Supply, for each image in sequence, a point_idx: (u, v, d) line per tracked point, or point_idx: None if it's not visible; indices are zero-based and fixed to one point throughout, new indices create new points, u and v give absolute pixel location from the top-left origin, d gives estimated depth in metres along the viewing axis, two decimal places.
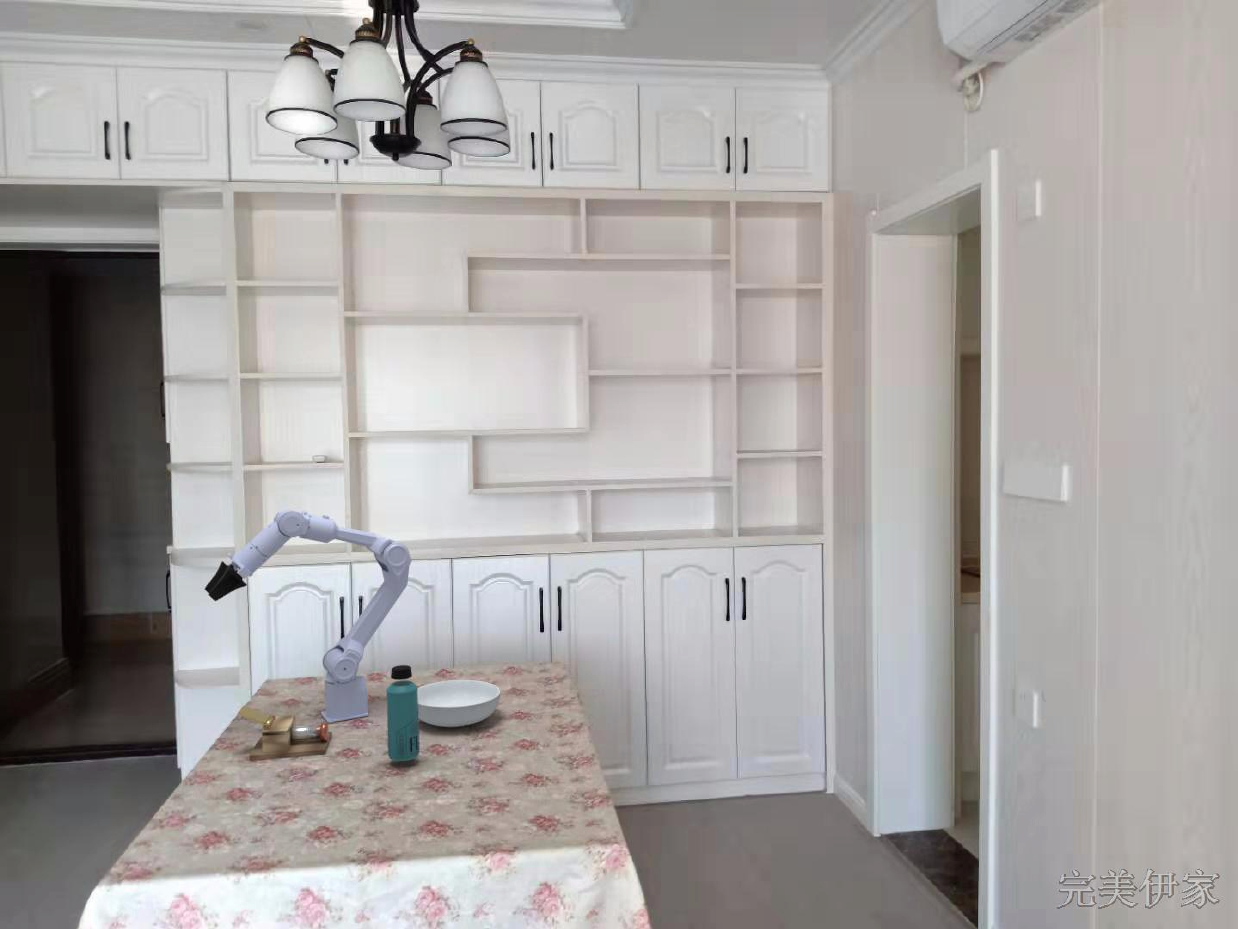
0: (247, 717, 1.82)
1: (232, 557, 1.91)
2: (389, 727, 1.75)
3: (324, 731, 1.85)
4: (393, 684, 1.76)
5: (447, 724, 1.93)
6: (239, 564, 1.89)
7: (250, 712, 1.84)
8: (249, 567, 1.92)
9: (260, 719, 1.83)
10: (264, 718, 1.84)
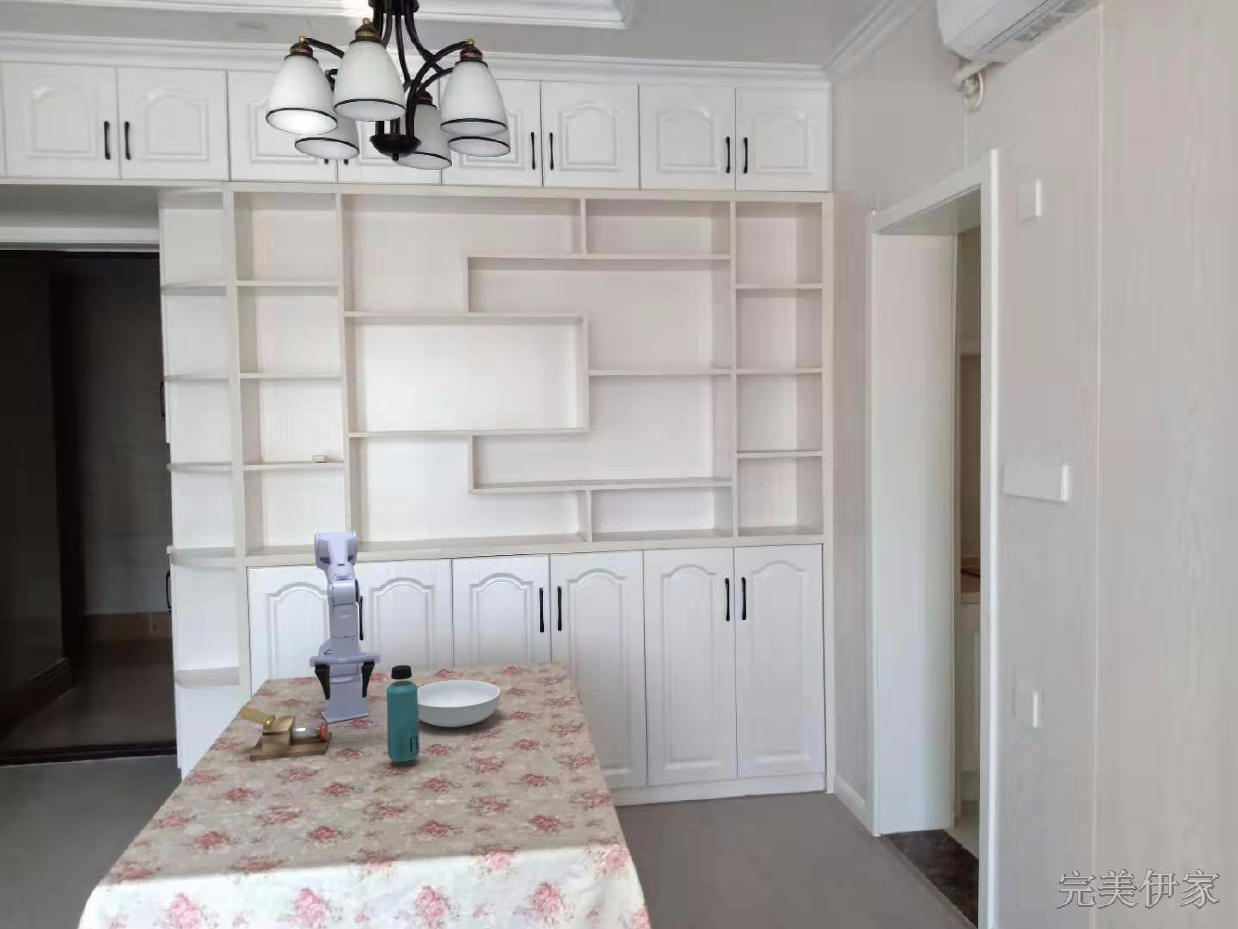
0: (247, 717, 1.82)
1: (348, 660, 1.84)
2: (389, 727, 1.75)
3: (324, 731, 1.85)
4: (393, 684, 1.76)
5: (447, 724, 1.93)
6: (366, 657, 1.86)
7: (250, 712, 1.84)
8: None
9: (260, 719, 1.83)
10: (264, 718, 1.84)
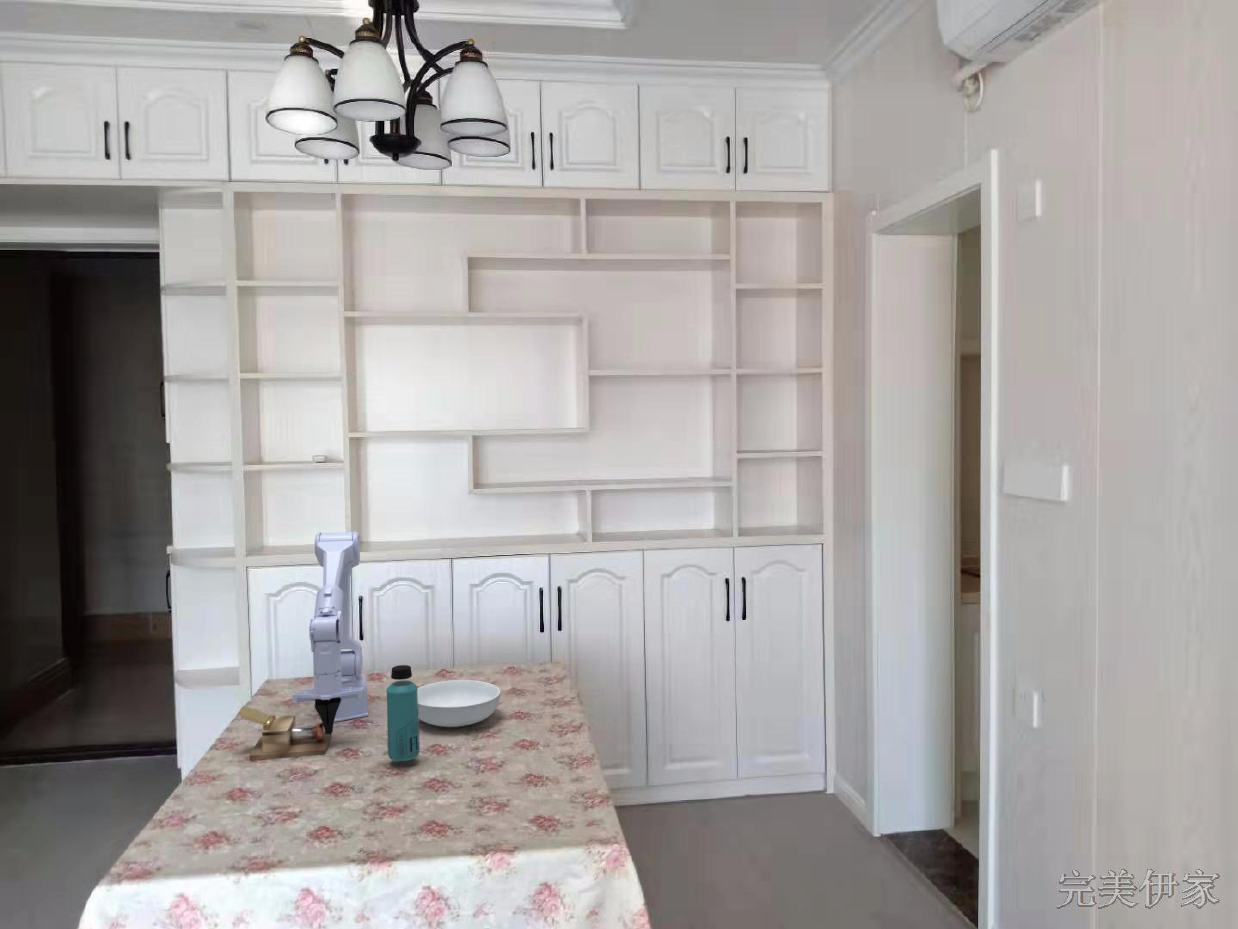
0: (247, 717, 1.82)
1: (331, 696, 1.84)
2: (389, 727, 1.75)
3: (320, 731, 1.85)
4: (393, 684, 1.76)
5: (447, 724, 1.93)
6: (349, 693, 1.86)
7: (250, 712, 1.84)
8: None
9: (260, 719, 1.83)
10: (264, 718, 1.84)
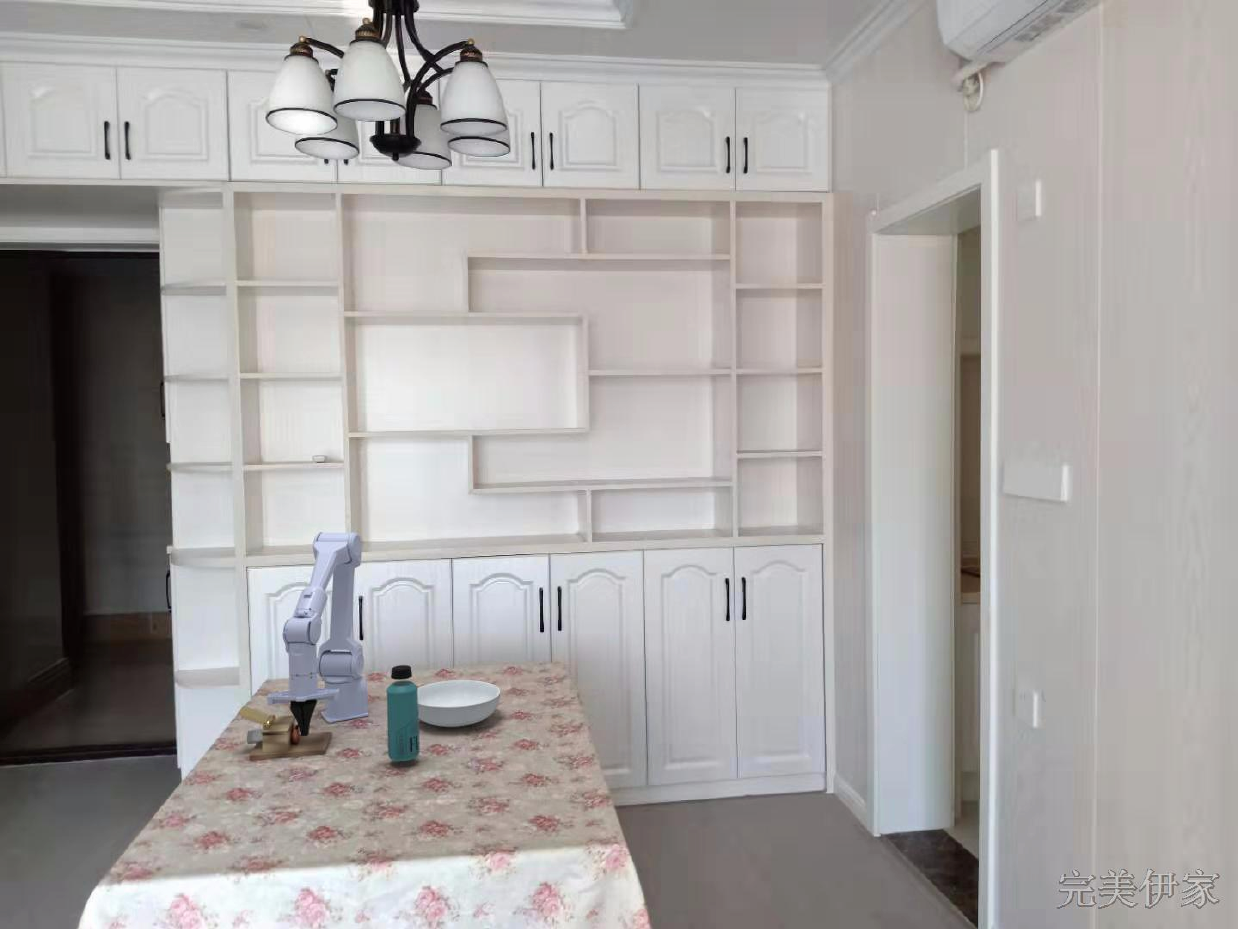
0: (247, 717, 1.82)
1: (307, 698, 1.83)
2: (389, 727, 1.75)
3: (295, 733, 1.84)
4: (393, 684, 1.76)
5: (447, 724, 1.93)
6: (325, 695, 1.85)
7: (250, 712, 1.84)
8: (317, 688, 1.87)
9: (260, 719, 1.83)
10: (264, 718, 1.84)
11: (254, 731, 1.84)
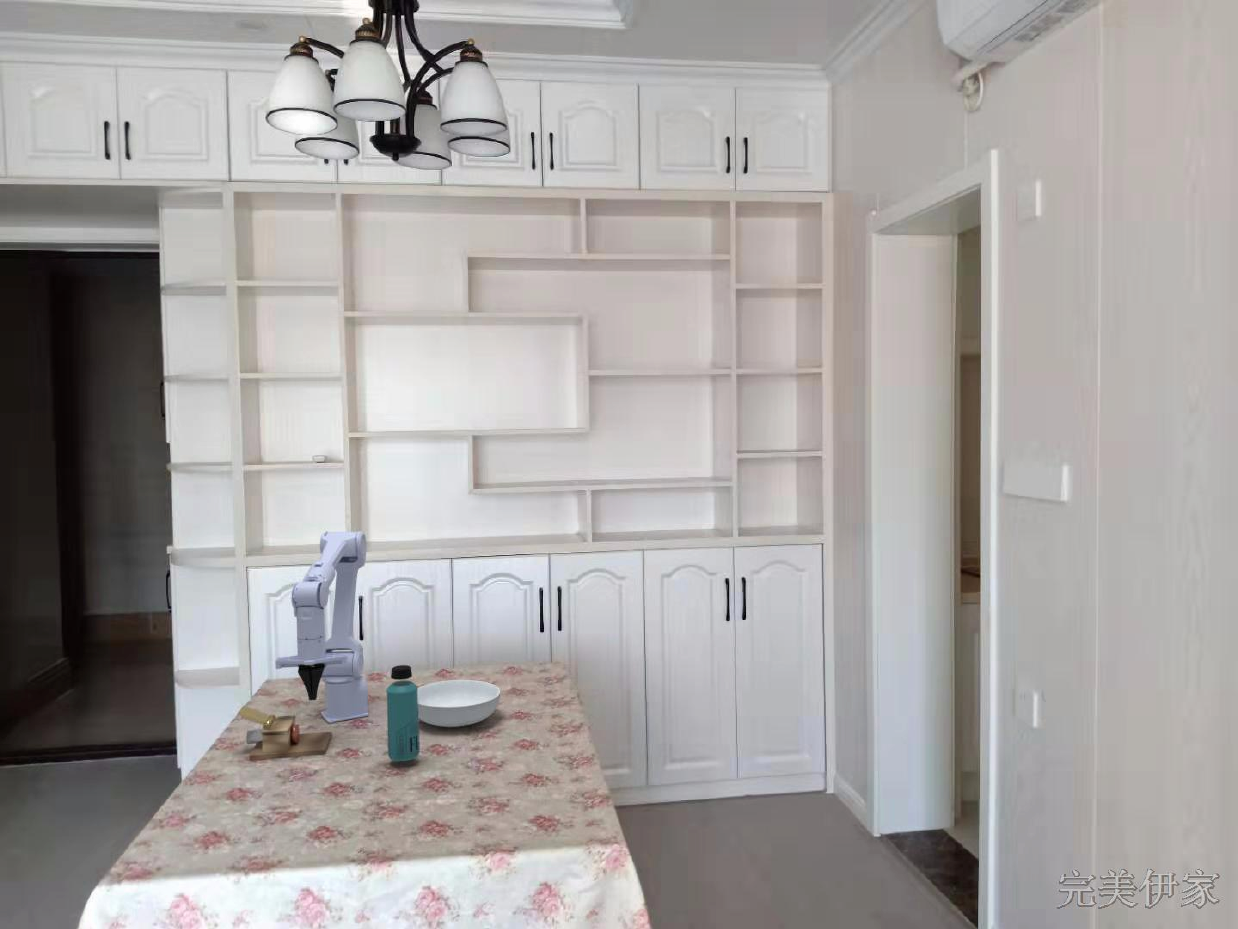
0: (247, 717, 1.82)
1: (315, 661, 1.83)
2: (389, 727, 1.75)
3: (295, 733, 1.84)
4: (393, 684, 1.76)
5: (447, 724, 1.93)
6: (333, 659, 1.85)
7: (250, 712, 1.84)
8: (325, 652, 1.87)
9: (260, 719, 1.83)
10: (264, 718, 1.84)
11: (253, 731, 1.84)
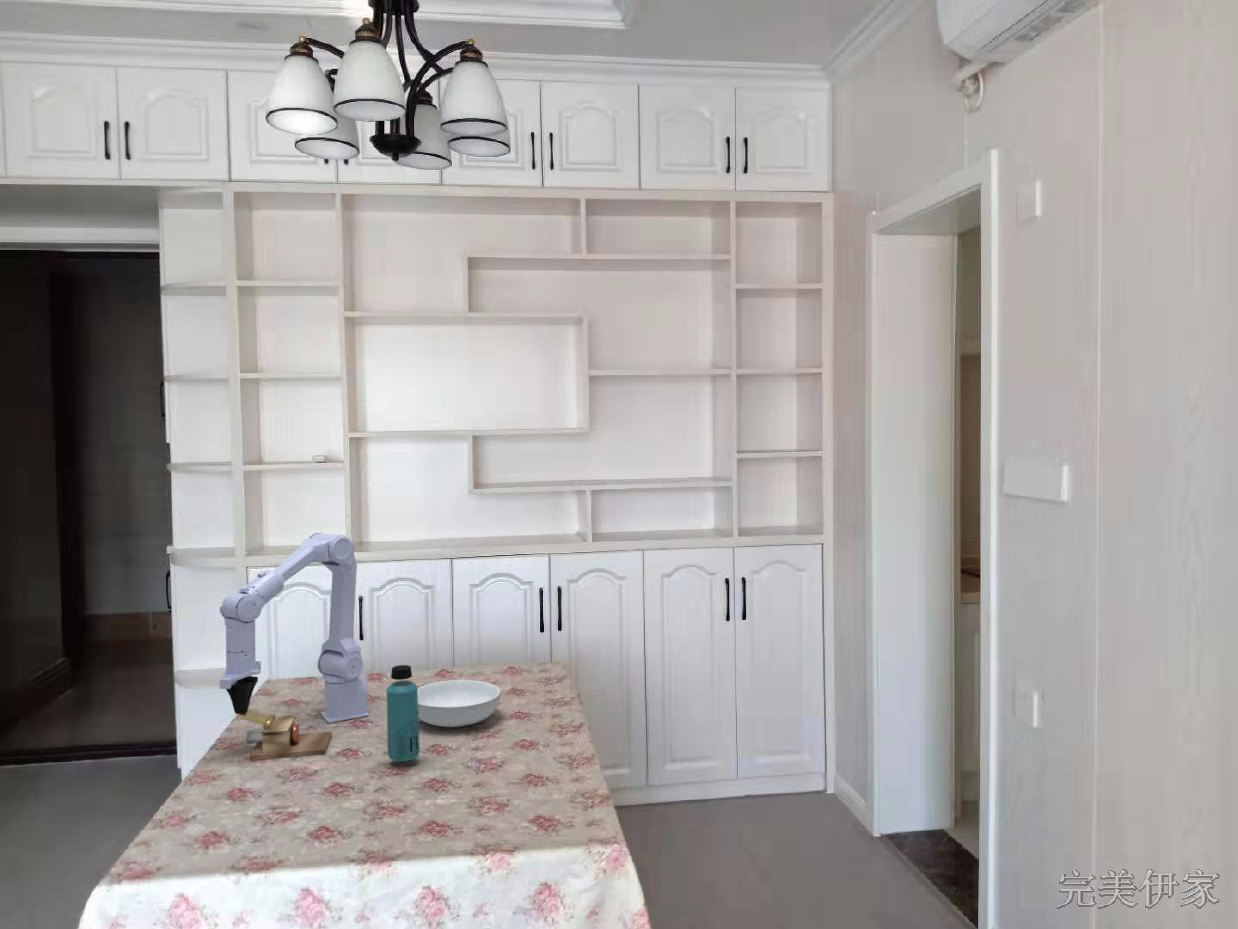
0: (247, 719, 1.82)
1: None
2: (389, 727, 1.75)
3: (295, 733, 1.84)
4: (393, 684, 1.76)
5: (447, 724, 1.93)
6: (258, 666, 1.88)
7: (249, 713, 1.84)
8: None
9: (260, 719, 1.83)
10: (264, 718, 1.84)
11: (253, 731, 1.84)
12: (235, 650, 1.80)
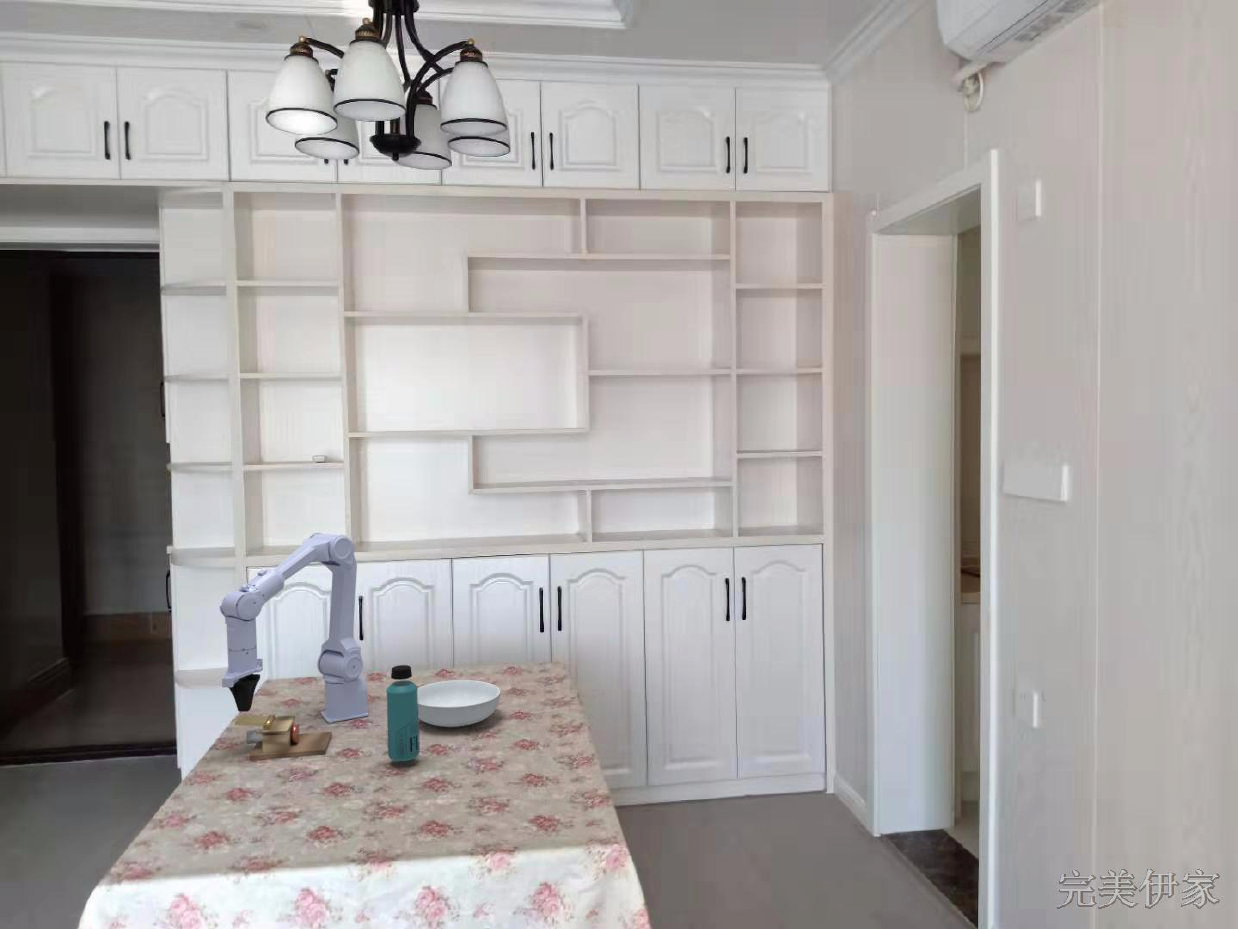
0: (245, 724, 1.82)
1: None
2: (389, 727, 1.75)
3: (295, 733, 1.84)
4: (393, 684, 1.76)
5: (447, 724, 1.93)
6: (259, 663, 1.88)
7: (247, 719, 1.84)
8: None
9: (259, 722, 1.83)
10: (263, 720, 1.84)
11: (253, 731, 1.84)
12: (236, 648, 1.80)
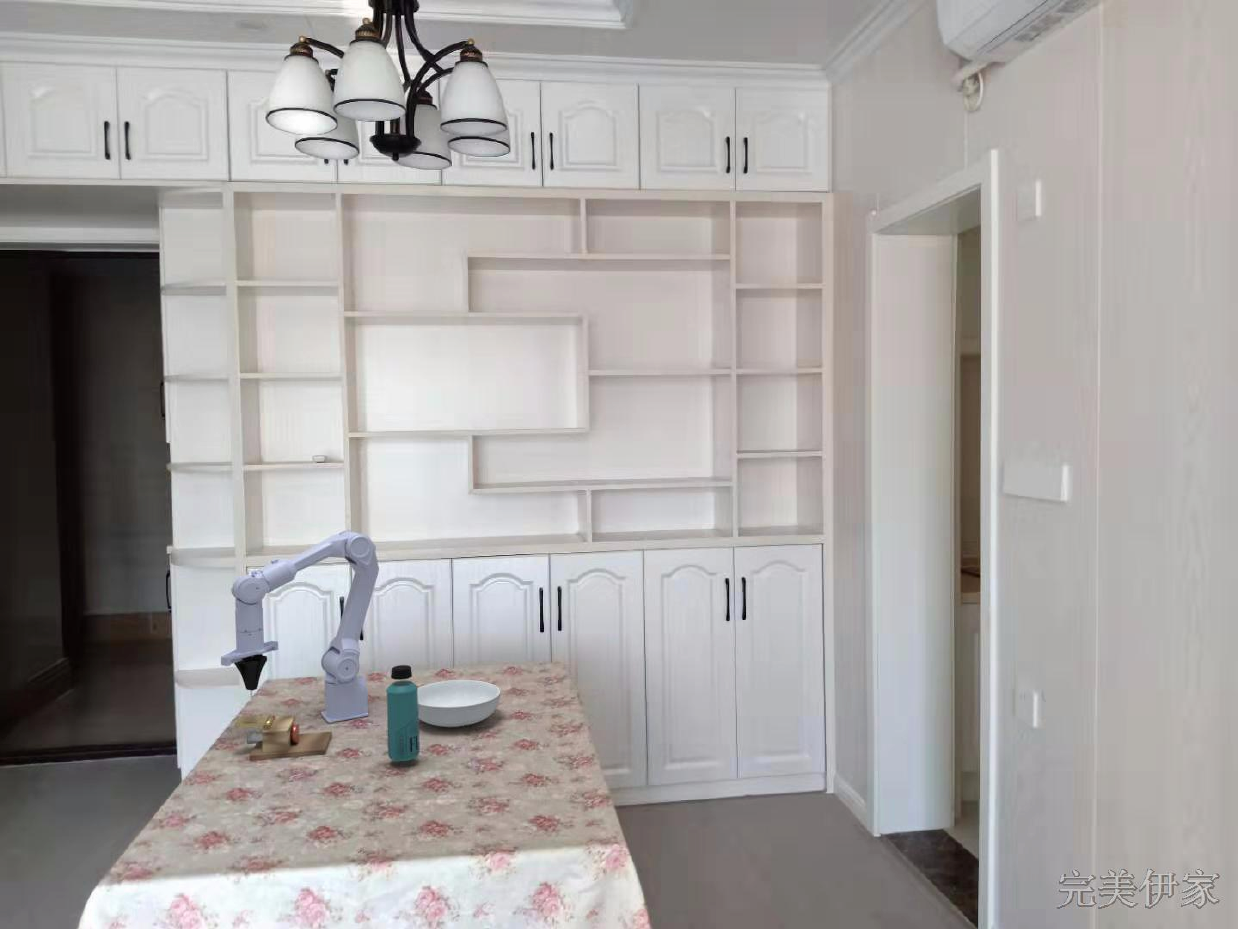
0: (245, 725, 1.82)
1: None
2: (389, 727, 1.75)
3: (295, 733, 1.84)
4: (393, 684, 1.76)
5: (447, 724, 1.93)
6: (271, 646, 1.97)
7: (247, 720, 1.84)
8: None
9: (258, 722, 1.83)
10: (263, 720, 1.84)
11: (253, 731, 1.84)
12: (240, 630, 1.90)
